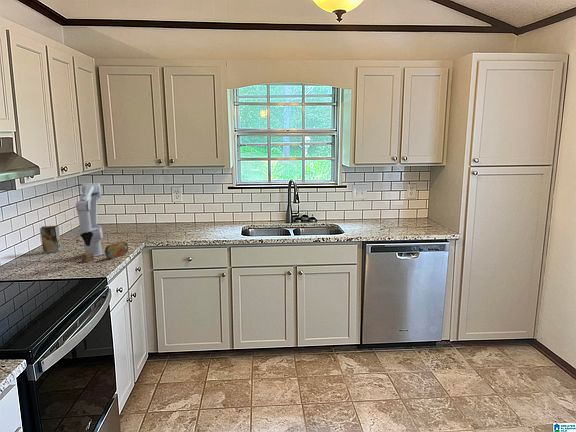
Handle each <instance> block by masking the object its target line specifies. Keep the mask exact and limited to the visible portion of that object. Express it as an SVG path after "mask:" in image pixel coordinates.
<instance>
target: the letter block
mask: <svg viewBox="0 0 576 432" xmlns="http://www.w3.org/2000/svg"><path fill="white" fill-rule="evenodd" d="M80 255H81V261H82V263H83V262H84V263H89V262H93V261H95V260H94V259H95V258H94V257H93V253H91V252H87V253H85V252H83V253H81V254H80Z"/></svg>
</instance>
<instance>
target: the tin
mask: <svg viewBox="0 0 576 432" xmlns="http://www.w3.org/2000/svg"><path fill="white" fill-rule="evenodd" d="M128 250H129V246H128V243H127V242H126V241H117V242H114V243H111V244H108V245H106V247H105V249H104V253H105V254H104V255H105V257H106V258H108V259H111V260H113V259H117V258H119V257H123V256H126V255H127V253H128Z"/></svg>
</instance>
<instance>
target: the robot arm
mask: <svg viewBox="0 0 576 432" xmlns="http://www.w3.org/2000/svg"><path fill="white" fill-rule="evenodd" d="M101 187H102V186H101V184H100V183H99V182H96V183H92V182H91V183H82V184H81V192H82V195H81V196H80V198H79V201H77V202H76V203H75V209H76V212H77V216H78V220H79V228H80V229H79V230H76V231H73V232H72V235H73V236H75V237H77V236H80V237H81V238H82V240H83V242H84V251H85V252H84V253H87V252H91V253H93V257H98V256H101V255H105V252H102V243H101V240H102V239H103V238H104V237H103V236H104V233H103V228H102V226H101V225H99V224H98V201H99V199H101V197H102V196H101V195H102V188H101Z"/></svg>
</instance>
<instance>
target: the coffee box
mask: <svg viewBox="0 0 576 432" xmlns="http://www.w3.org/2000/svg"><path fill="white" fill-rule="evenodd" d="M39 233H40V239H41V244H42V250H43V251H42V252H43V254H48V253H49V254H50V253H59V252H61V251H62V244H61V242H62V241H61V237H60V230H59V225H48V226H47V225H45V226H44V225H43V226H41V227H40V228H39Z"/></svg>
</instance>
